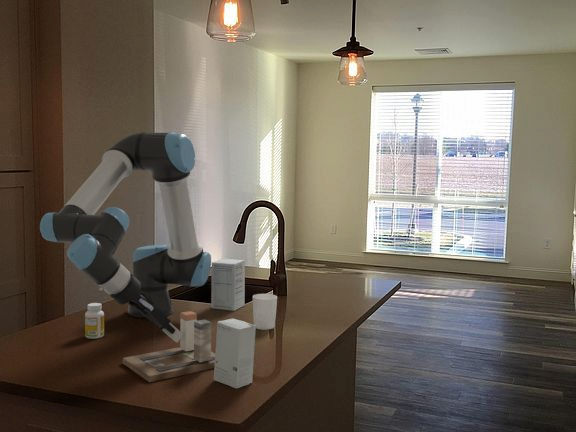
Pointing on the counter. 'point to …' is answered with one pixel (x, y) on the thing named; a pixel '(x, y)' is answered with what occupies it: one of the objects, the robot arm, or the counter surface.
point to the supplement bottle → (94, 321)
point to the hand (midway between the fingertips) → (179, 338)
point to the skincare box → (234, 352)
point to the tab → (187, 330)
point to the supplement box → (228, 284)
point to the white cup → (264, 311)
